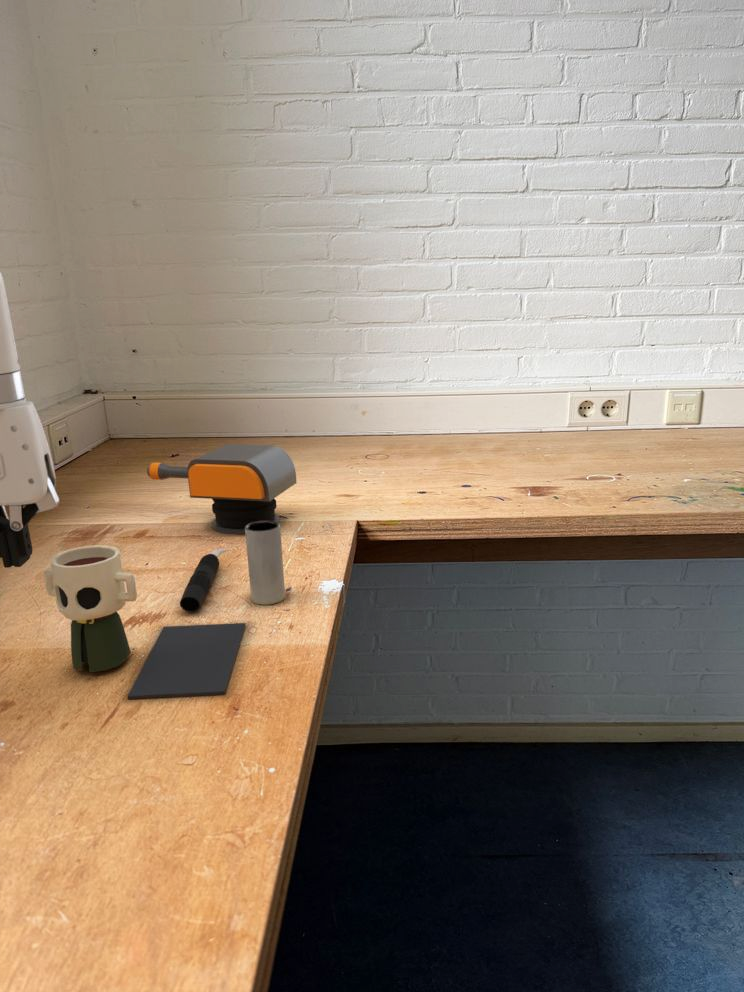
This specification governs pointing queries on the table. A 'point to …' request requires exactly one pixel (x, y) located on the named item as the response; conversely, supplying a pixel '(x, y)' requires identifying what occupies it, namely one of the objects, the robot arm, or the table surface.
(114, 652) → the character mug
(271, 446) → the toy turret
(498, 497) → the table surface
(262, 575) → the grey hollow cylinder
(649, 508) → the table surface
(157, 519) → the table surface
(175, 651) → the mat
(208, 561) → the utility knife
